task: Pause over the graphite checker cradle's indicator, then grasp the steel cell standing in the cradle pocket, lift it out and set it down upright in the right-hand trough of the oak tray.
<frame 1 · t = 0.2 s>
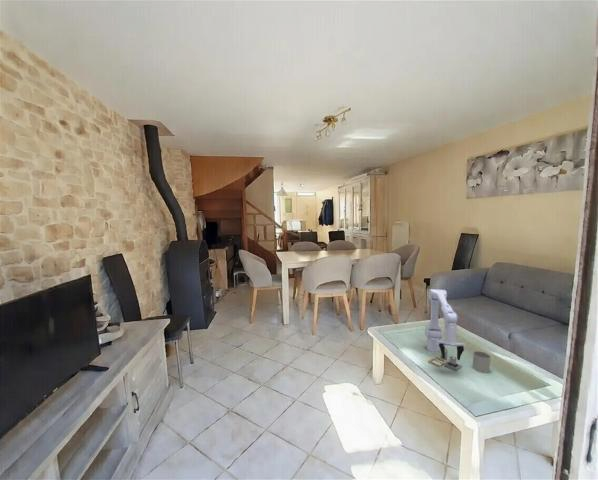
hand: (450, 358, 150), 10 cm above the table, tool pointing down, fingers open, 7 cm apart
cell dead: (443, 358, 169), point 1 cm above the table, touching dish
tray: (437, 363, 163), on the table
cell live: (452, 367, 158), point 1 cm above the table, touching cradle
cup: (480, 371, 157), on the table
cradle: (452, 368, 158), on the table
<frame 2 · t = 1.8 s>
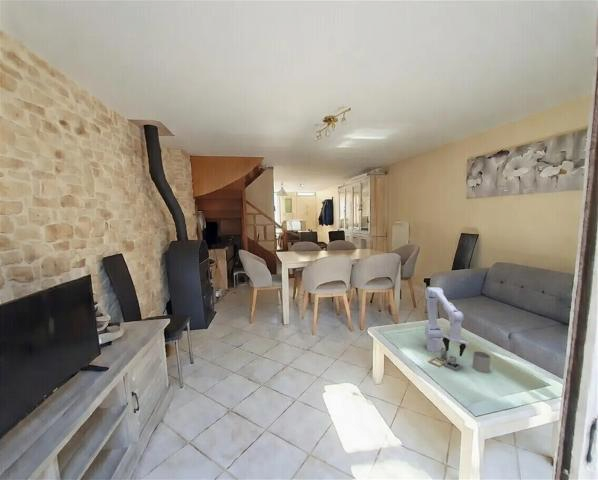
hand: (453, 353, 159), 9 cm above the table, tool pointing down, fingers open, 7 cm apart
nothing on the table moved.
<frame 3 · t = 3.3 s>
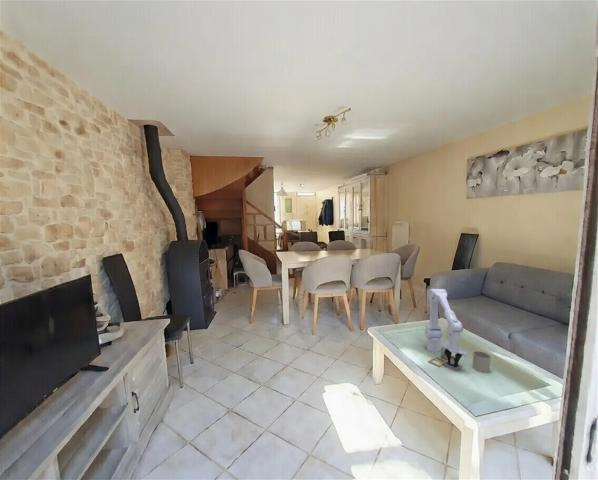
hand: (452, 363, 158), 3 cm above the table, tool pointing down, fingers closed on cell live, 3 cm apart
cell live: (452, 367, 158), point 1 cm above the table, touching cradle, gripper
everything else where it was.
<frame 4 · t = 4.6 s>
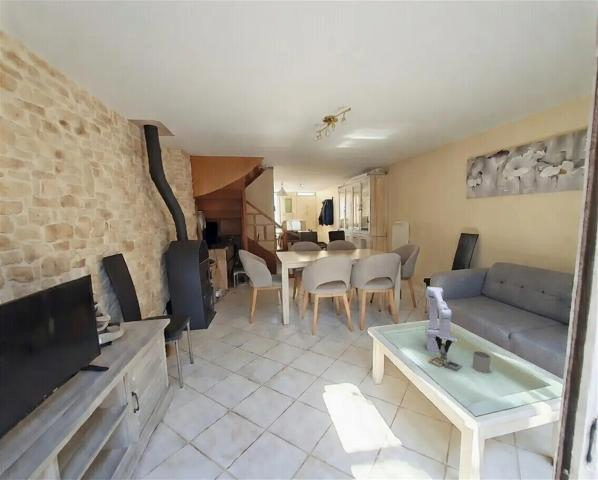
hand: (443, 350, 160), 10 cm above the table, tool pointing down, fingers closed on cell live, 3 cm apart
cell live: (443, 354, 160), point 8 cm above the table, touching gripper
everything else where it was.
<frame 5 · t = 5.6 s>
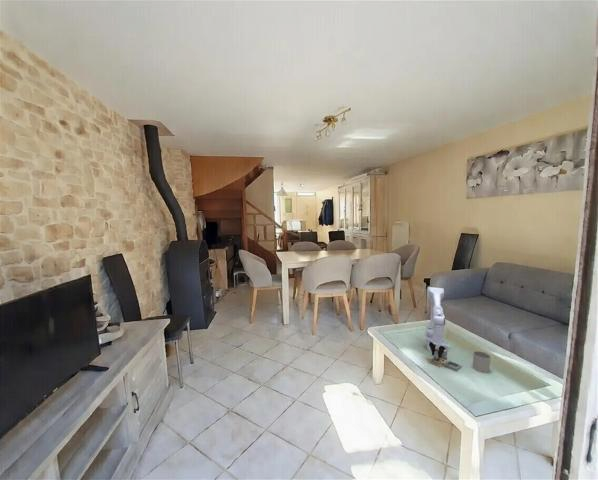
hand: (436, 356, 162), 5 cm above the table, tool pointing down, fingers closed on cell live, 3 cm apart
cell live: (436, 359, 162), point 3 cm above the table, touching gripper
everything else where it was.
when the fingers open (4 cm above the table, at t = 6.3 s): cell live drops 1 cm, resting on tray.
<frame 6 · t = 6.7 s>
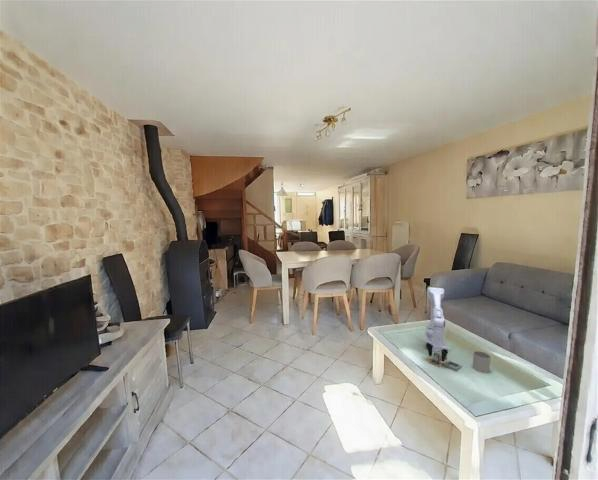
hand: (436, 358, 162), 4 cm above the table, tool pointing down, fingers open, 7 cm apart
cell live: (436, 363, 162), point 1 cm above the table, touching tray
everything else where it was.
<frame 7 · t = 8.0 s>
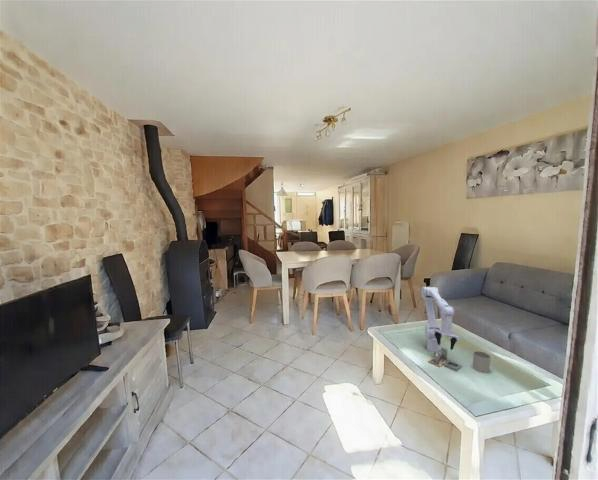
hand: (445, 346, 164), 10 cm above the table, tool pointing down, fingers open, 7 cm apart
nothing on the table moved.
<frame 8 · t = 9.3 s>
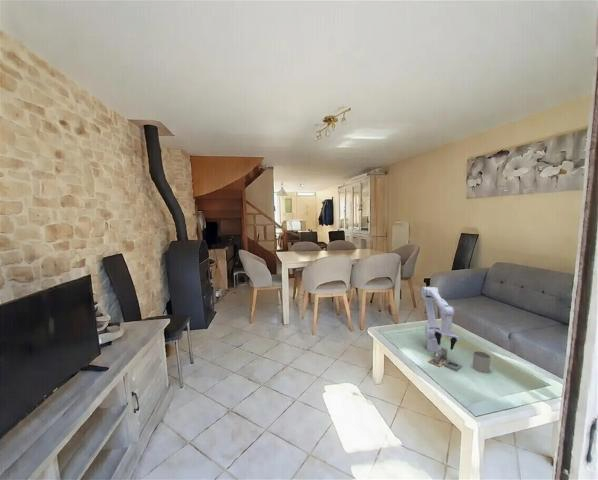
hand: (445, 346, 164), 10 cm above the table, tool pointing down, fingers open, 7 cm apart
nothing on the table moved.
at the end: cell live 0.3 cm from the target spot on the tray, point 0.6 cm above the tray's base; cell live tilted 2°; the gripper is holding nothing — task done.
